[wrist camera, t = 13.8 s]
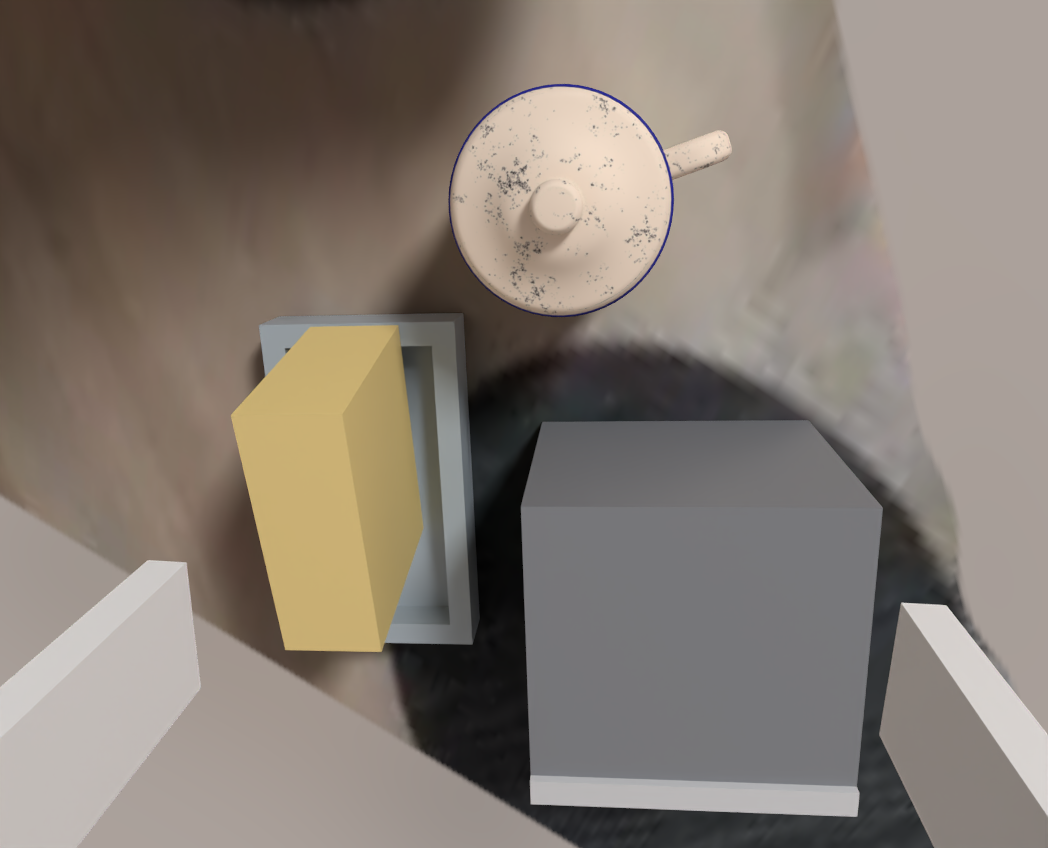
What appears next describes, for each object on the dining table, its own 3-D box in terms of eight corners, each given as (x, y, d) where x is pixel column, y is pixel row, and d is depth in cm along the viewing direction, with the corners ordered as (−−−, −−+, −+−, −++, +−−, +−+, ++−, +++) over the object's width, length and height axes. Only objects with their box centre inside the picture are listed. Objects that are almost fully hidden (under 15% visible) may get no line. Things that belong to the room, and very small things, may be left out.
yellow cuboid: (310, 326, 42) (230, 415, 33) (398, 325, 41) (342, 414, 32) (345, 527, 47) (285, 650, 38) (423, 527, 47) (381, 652, 38)
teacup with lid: (514, 314, 44) (483, 361, 32) (452, 142, 41) (396, 128, 30) (739, 237, 41) (789, 258, 30) (686, 51, 39) (719, 0, 28)
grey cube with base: (542, 421, 45) (519, 510, 33) (808, 420, 44) (886, 511, 32) (548, 650, 49) (530, 804, 37) (793, 655, 48) (857, 816, 36)
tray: (279, 316, 45) (258, 325, 42) (463, 312, 44) (454, 321, 41) (314, 616, 50) (297, 641, 47) (479, 618, 49) (472, 644, 46)
